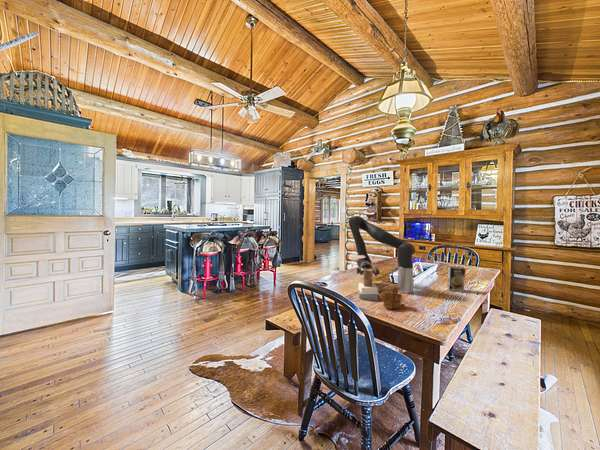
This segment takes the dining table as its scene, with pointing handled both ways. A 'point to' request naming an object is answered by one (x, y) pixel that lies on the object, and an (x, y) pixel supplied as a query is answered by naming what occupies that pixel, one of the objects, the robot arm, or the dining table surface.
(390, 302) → the brown fuzzy figure
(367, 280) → the walnut block
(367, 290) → the tower top
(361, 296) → the tower bottom
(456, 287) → the coffee box
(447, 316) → the dining table surface
